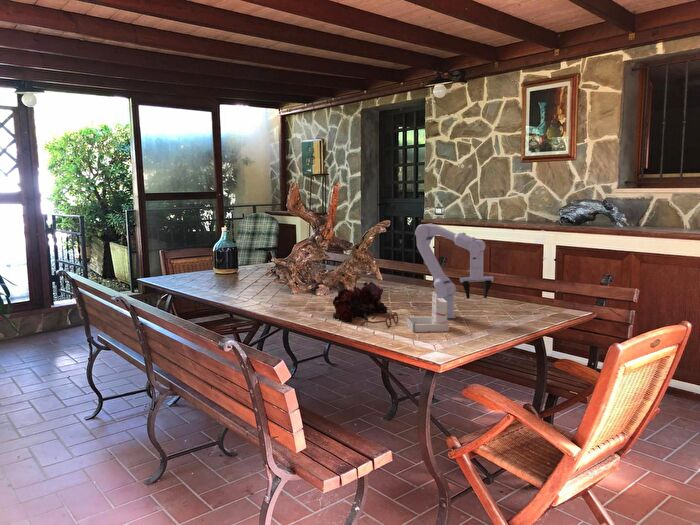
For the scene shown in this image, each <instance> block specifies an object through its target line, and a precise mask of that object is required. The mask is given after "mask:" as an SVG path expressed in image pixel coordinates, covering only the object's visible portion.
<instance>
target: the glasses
mask: <svg viewBox="0 0 700 525" xmlns="http://www.w3.org/2000/svg"><path fill="white" fill-rule="evenodd" d="M376 317H382V318H385V320H376V321H370V320H365V321H363V322H362V323H361V324H359V326H363V325H364V324H366V323H370V324H379V323H385V326H386V327H387V328H390V327H392V320H391V319H393V322H394V323H395V324H398V322H399V316H398V313H397V312H393V314H387V315H382V314H374V316H373V317H371V320H374V319H376ZM395 317H396V320H395ZM388 320H389V325H388Z"/></svg>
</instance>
